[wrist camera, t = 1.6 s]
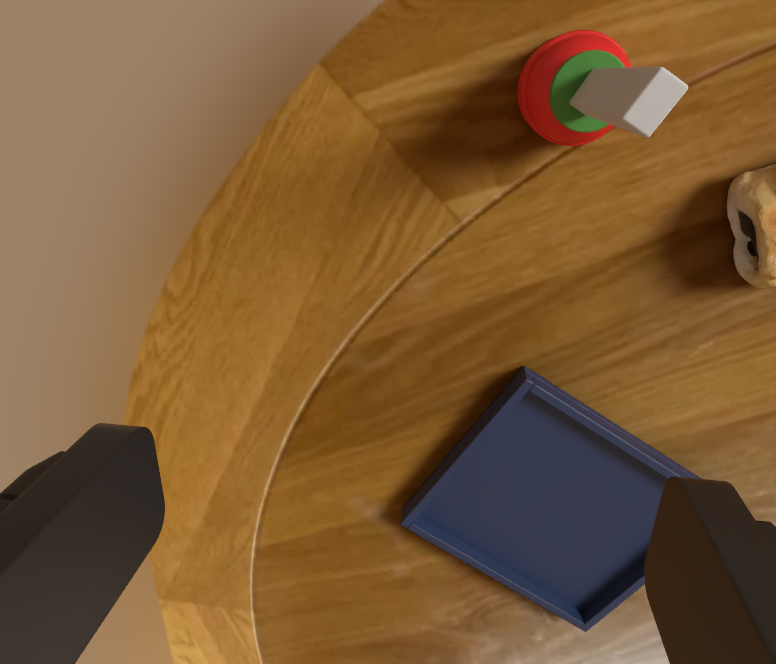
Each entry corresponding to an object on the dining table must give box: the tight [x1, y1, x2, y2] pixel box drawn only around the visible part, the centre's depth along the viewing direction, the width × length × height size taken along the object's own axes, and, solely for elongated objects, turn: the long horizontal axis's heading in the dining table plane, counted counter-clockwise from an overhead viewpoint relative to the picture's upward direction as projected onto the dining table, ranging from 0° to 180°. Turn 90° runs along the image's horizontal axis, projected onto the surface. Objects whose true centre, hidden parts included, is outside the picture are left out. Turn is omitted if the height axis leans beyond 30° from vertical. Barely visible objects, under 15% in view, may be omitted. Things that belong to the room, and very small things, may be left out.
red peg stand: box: [517, 30, 688, 146], centre depth 23 cm, size 5×5×15 cm
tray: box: [400, 366, 701, 632], centre depth 40 cm, size 16×14×2 cm
